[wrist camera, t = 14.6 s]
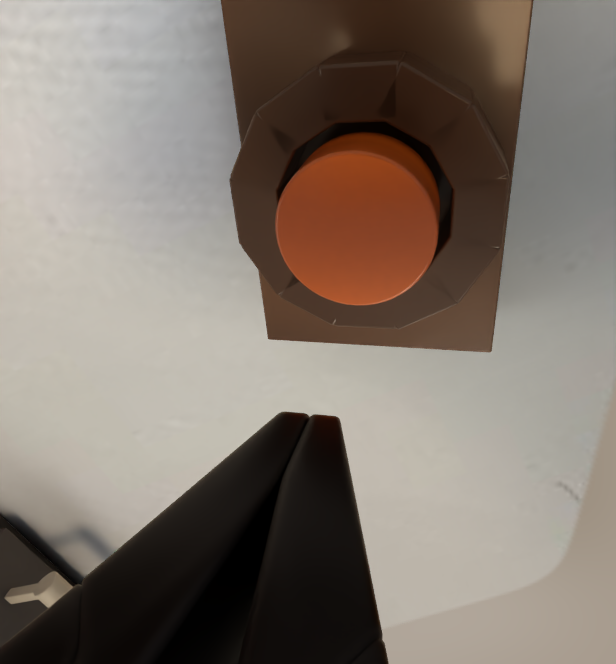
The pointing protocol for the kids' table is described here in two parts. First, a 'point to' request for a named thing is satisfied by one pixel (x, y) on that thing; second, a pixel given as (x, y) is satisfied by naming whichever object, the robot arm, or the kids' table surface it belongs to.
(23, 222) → the kids' table surface
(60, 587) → the drawer
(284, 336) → the block
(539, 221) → the kids' table surface
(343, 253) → the button
